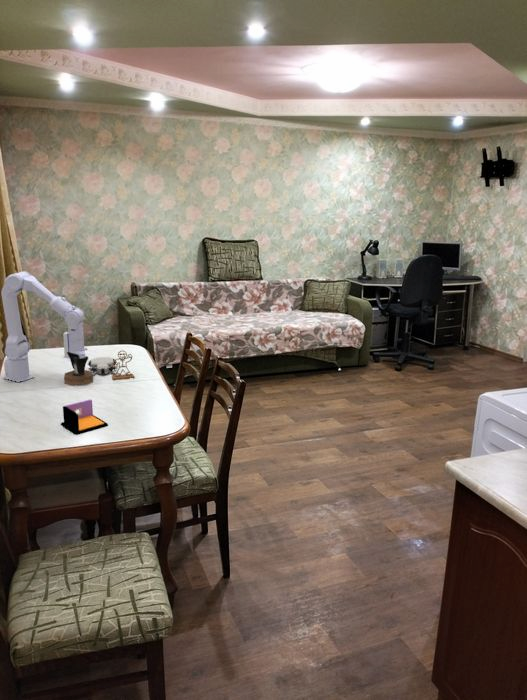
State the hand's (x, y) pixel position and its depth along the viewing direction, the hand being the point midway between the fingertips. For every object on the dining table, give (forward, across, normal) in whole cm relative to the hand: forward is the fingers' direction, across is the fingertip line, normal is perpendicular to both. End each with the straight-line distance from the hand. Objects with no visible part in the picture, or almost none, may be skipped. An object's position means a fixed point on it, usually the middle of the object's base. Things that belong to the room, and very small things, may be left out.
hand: (78, 370), depth 223 cm
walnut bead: (+4, 0, 0) cm, 4 cm away
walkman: (+5, +35, -8) cm, 37 cm away
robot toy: (+5, +8, -13) cm, 16 cm away
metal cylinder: (+4, 0, 0) cm, 4 cm away
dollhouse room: (+5, -45, +11) cm, 47 cm away
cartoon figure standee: (+5, -5, -17) cm, 18 cm away
